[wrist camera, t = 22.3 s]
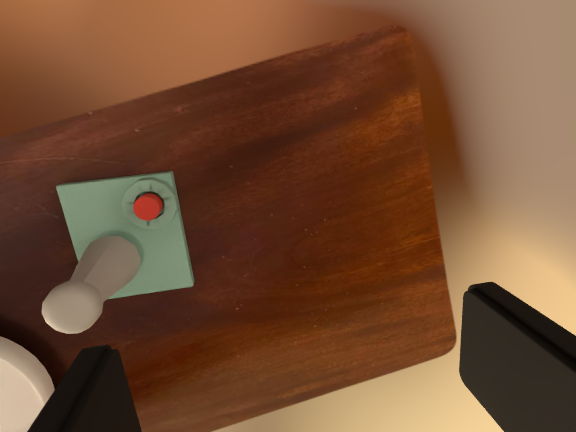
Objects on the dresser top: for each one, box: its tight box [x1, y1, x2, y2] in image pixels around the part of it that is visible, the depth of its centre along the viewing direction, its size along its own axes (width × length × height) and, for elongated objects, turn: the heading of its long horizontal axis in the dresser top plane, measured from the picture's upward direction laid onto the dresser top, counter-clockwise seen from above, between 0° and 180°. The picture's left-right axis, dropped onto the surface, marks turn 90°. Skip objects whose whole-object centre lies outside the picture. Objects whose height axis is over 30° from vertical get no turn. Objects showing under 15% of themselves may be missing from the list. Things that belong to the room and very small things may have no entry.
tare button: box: [133, 193, 163, 221], centre depth 37 cm, size 3×3×2 cm
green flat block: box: [56, 171, 194, 299], centre depth 40 cm, size 14×12×3 cm
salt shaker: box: [42, 236, 140, 334], centre depth 34 cm, size 6×6×13 cm
